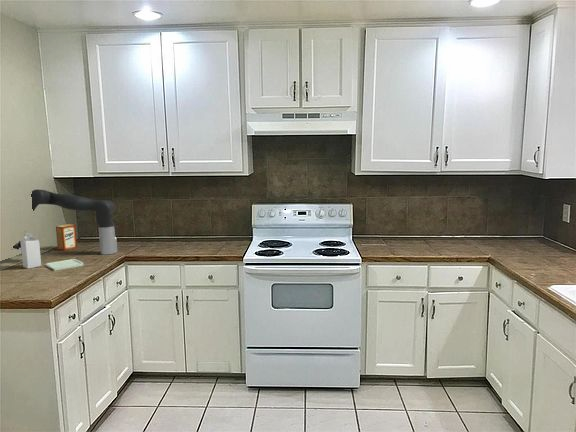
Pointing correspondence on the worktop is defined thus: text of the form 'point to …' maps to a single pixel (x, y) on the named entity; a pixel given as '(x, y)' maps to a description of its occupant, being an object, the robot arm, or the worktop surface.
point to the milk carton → (30, 251)
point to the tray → (64, 264)
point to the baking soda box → (66, 237)
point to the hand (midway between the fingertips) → (26, 246)
